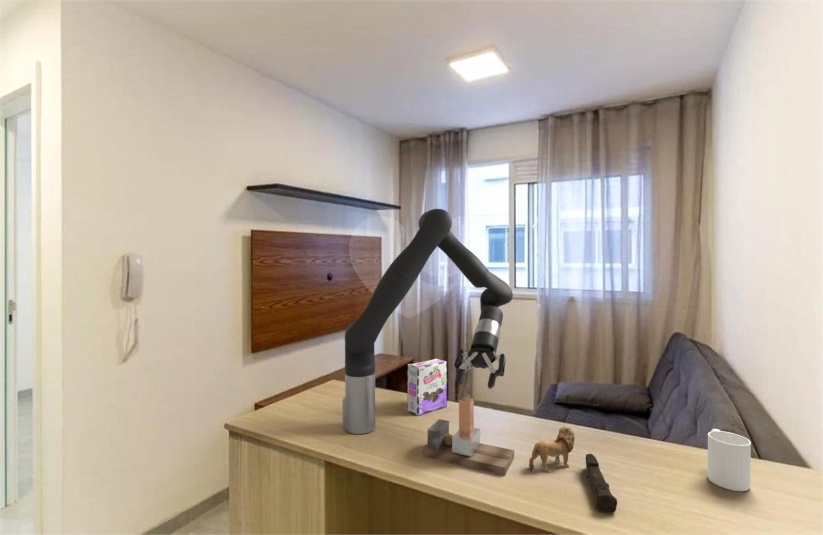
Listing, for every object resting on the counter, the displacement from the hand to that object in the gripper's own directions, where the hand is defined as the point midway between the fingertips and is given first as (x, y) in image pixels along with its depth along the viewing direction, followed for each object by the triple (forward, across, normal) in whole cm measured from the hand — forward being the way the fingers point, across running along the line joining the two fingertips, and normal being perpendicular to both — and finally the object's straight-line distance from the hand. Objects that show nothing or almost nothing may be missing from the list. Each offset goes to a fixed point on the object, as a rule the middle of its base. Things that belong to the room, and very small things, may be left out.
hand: (474, 385), depth 114 cm
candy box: (-2, -24, +26) cm, 35 cm away
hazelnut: (+16, -5, +6) cm, 17 cm away
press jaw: (+15, 0, +6) cm, 16 cm away
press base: (+17, 0, +7) cm, 18 cm away
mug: (+5, +58, +20) cm, 62 cm away
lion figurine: (+14, +21, +11) cm, 27 cm away
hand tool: (+18, +31, +7) cm, 37 cm away
